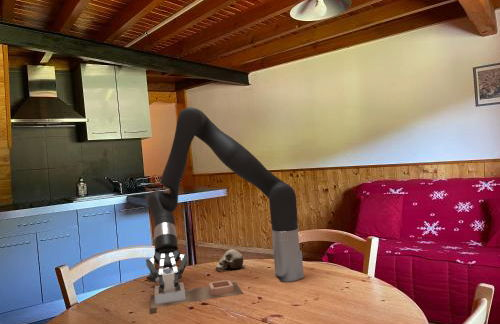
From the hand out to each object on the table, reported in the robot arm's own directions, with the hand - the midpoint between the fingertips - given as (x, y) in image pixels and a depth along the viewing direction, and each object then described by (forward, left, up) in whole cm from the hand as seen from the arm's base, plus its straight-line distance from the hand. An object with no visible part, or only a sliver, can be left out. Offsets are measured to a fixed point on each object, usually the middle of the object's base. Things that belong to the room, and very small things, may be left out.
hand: (169, 286), depth 115 cm
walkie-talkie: (0, -25, -6) cm, 26 cm away
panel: (-8, -2, -6) cm, 10 cm away
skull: (-24, -30, -6) cm, 40 cm away
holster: (-16, -2, -4) cm, 17 cm away
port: (0, -2, -4) cm, 5 cm away
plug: (0, -2, -3) cm, 4 cm away
